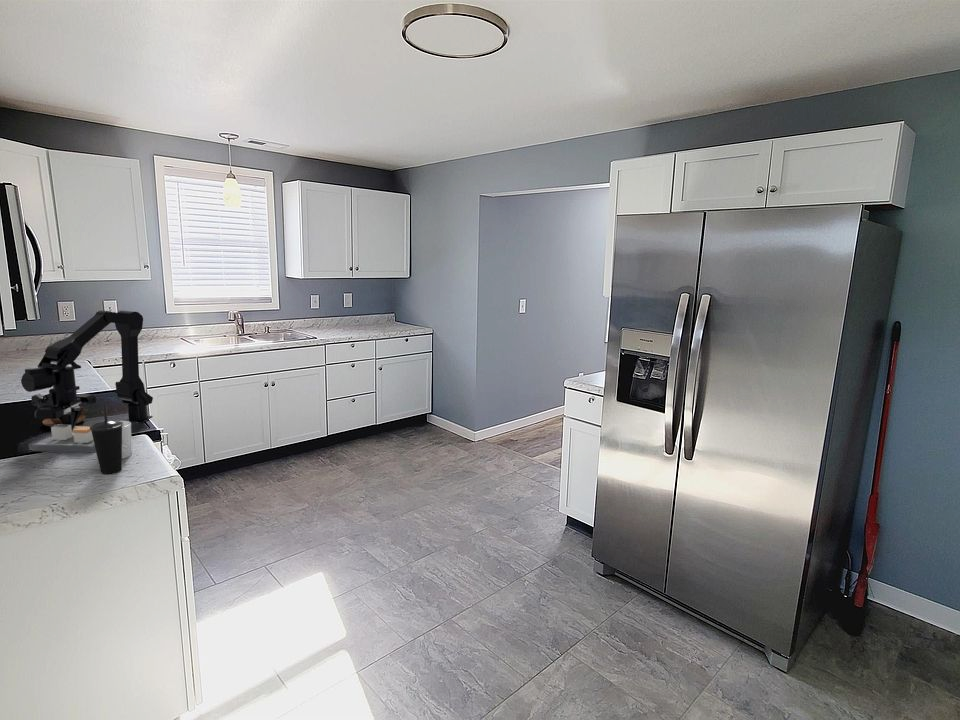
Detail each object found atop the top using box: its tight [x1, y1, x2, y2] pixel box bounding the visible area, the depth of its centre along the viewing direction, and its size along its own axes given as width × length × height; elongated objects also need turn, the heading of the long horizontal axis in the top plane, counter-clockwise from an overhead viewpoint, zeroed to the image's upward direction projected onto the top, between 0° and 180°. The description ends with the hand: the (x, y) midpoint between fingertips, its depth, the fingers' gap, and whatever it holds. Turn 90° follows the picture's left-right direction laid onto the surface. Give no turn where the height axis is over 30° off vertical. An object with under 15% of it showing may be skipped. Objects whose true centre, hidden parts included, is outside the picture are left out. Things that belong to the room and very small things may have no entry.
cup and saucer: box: [42, 406, 86, 428], centre depth 188 cm, size 12×12×6 cm
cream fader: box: [50, 424, 72, 440], centre depth 169 cm, size 3×4×4 cm
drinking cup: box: [90, 402, 123, 476], centre depth 150 cm, size 8×8×20 cm
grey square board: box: [31, 425, 96, 454], centre depth 172 cm, size 18×18×2 cm
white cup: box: [119, 420, 133, 460], centre depth 161 cm, size 8×8×10 cm
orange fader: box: [73, 427, 93, 443], centre depth 167 cm, size 3×4×4 cm
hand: (69, 431), depth 172 cm, fingers closed
